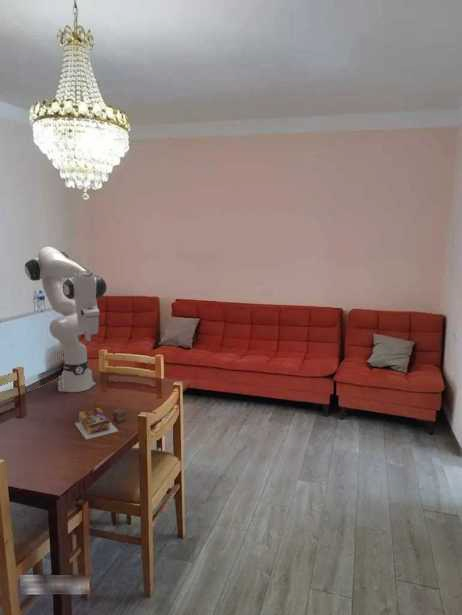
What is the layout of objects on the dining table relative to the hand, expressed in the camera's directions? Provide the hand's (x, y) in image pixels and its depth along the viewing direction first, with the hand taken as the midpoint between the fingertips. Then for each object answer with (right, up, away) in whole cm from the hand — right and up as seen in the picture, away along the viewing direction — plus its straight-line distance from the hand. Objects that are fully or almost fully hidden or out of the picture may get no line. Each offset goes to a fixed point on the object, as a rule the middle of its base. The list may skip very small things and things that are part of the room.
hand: (88, 340), depth 187 cm
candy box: (+1, -32, 0) cm, 32 cm away
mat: (+6, -36, -8) cm, 37 cm away
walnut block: (+14, -35, 0) cm, 37 cm away
